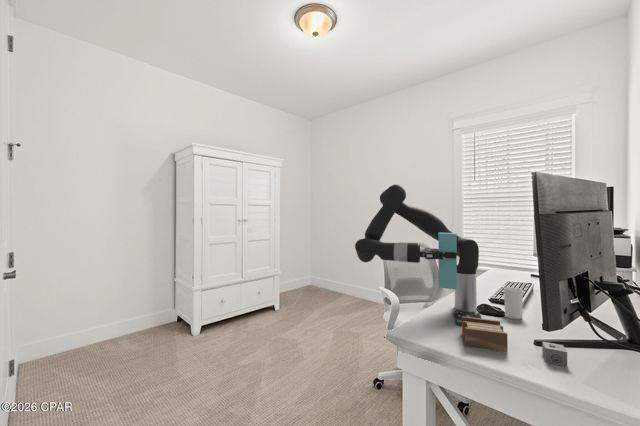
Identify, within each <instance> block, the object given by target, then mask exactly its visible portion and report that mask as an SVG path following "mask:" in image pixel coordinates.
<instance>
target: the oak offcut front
mask: <svg viewBox="0 0 640 426" xmlns="http://www.w3.org/2000/svg"><path fill="white" fill-rule="evenodd" d="M467 328H475V329H483V330H490V331H498V332H504V330H503V331H502V329H494V328H486V327H478V326H470V325H467Z"/></svg>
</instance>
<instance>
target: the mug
mask: <svg viewBox="0 0 640 426" xmlns="http://www.w3.org/2000/svg"><path fill="white" fill-rule="evenodd" d="M523 293H524V291H523V289H521V288H519V287H518V288H517V287H511V286H508V287H507V286H506V287H503V296H504V297H503V298H504V315H505V317H506V318H509V319H512V320H521V319H522V320H523V298H524V297H523V296H524V294H523Z"/></svg>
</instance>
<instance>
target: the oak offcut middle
mask: <svg viewBox="0 0 640 426" xmlns="http://www.w3.org/2000/svg"><path fill="white" fill-rule="evenodd" d="M467 325H470V326H478V327H486V328H494V329H501V328H500V327H498V326H490V325H481V324H473V323H467Z"/></svg>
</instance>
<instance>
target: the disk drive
mask: <svg viewBox="0 0 640 426" xmlns="http://www.w3.org/2000/svg"><path fill="white" fill-rule="evenodd" d="M462 316H463V317H472V318H481V319H483V318H482V315H481V314H480V313H478V312H464V311H459V310H453V317H454V320H455V321H454V323H455V326H458V327H462Z"/></svg>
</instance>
